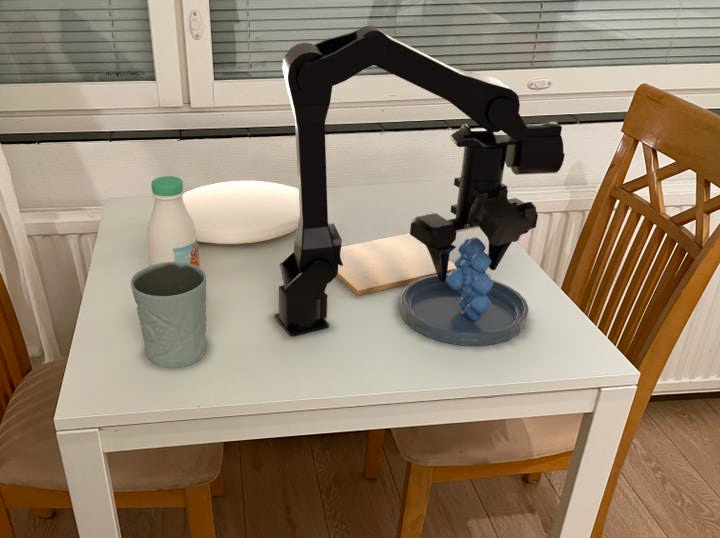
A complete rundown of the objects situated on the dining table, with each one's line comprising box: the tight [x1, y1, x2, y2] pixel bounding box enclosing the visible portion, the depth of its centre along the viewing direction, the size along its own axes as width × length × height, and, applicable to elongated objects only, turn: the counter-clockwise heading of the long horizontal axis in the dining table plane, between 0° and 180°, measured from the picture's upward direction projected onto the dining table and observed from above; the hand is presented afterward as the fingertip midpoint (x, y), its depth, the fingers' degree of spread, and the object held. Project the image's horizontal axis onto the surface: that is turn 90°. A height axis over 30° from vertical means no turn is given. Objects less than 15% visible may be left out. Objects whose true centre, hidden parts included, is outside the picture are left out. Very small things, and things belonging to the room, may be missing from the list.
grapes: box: [446, 236, 494, 321], centre depth 114 cm, size 12×7×12 cm, turn 6°
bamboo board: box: [336, 232, 457, 297], centre depth 132 cm, size 20×16×1 cm
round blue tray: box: [399, 274, 529, 347], centre depth 117 cm, size 19×19×2 cm
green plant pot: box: [130, 262, 207, 369], centre depth 105 cm, size 10×10×12 cm
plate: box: [182, 180, 300, 245], centre depth 145 cm, size 28×6×27 cm
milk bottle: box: [146, 175, 201, 268], centre depth 116 cm, size 8×8×20 cm
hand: (467, 275), depth 114 cm, fingers open, 9 cm apart
